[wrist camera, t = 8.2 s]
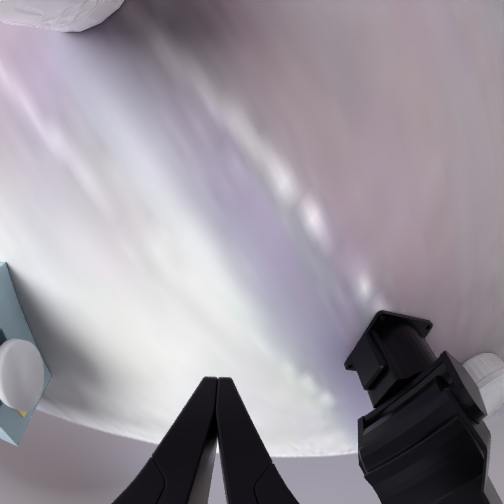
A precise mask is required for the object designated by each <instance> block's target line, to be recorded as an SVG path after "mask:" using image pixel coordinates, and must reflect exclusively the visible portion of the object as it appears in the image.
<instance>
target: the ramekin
mask: <svg viewBox="0 0 504 504" xmlns="http://www.w3.org/2000/svg"><path fill="white" fill-rule="evenodd" d="M461 365H462V366H463V367H464V368H465V369H466V370H467V372H468V373H469V374H470V376H471V377H472V379H473V380H474V382H475V383H476V385H477V386H478V388H479V391H480V394H481V396H482V399H483V402H484V405H485V408H486V411H487V414H488V415H487V417H485V418H484V419H483V421H484V420H485V419H486V418H488V417H489V416H490V415H491V414H493V413H494V412H495V411H496V410H497V409H498V408H499V407H500V406H501V405H502V404H503V403H504V361H502V360H501V359H500V358H499V357H498V356H497V355H495V354H493V353H481V354H478V355H476V356H474V357H472V358H470V359H468V360H467V361H465V362H464V363H463V364H461Z"/></svg>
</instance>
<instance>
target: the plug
mask: <svg viewBox="0 0 504 504" xmlns="http://www.w3.org/2000/svg"><path fill="white" fill-rule="evenodd" d="M43 384H44V368H43V362H42V358H41V356H40V353H39V351H38V350H37V348H36V347H35V346H34V345H33V344H32V343H31V342H29V341H25V340H21V339H16V338H12V339H9V340H7V341H5V342H4V343H3V344H2V345H1V346H0V399H1V401H2V402H3V403H4V404H5V405H7V406H9V407H11V408H14V409H16V410H19V411H23V412H25V411H29V410H31V409H32V408H33V407H34V406H35V405H36V404H37V403H38V401H39V399H40V397H41V394H42V390H43Z"/></svg>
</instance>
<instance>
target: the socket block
mask: <svg viewBox="0 0 504 504" xmlns="http://www.w3.org/2000/svg"><path fill="white" fill-rule="evenodd" d="M12 338H16V339H21V340H25V341H29V342H31V343H32V344H33V345H34V346H35V347H36V348H37V350H38V351H39V349H38V347H37V345H36V343H35V340H34V338H33V336H32V333H31V331H30V329H29V326H28V324H27V322H26V319H25V317H24V314H23V311H22V309H21V306H20V303H19V301H18V298H17V295H16V292H15V289H14V286H13V283H12V280H11V277H10V274H9V271H8V268H7V264H6V262H0V346H1V345H2V344H3V343H4V342H5V341H7V340H9V339H12ZM39 353H40V351H39ZM40 356H41V358H42V362H43V368H44V384H43V390H42V394H43V392H44V390H45V388H46V386H47V384H48V383H49V381H50V379H51V377H52V375H51V373H50V371H49V370H48V368H47V366H46V364H45V362H44V360H43V357H42V355H41V353H40ZM42 394H41V396H42ZM40 398H41V397H40ZM39 400H40V399H39ZM38 402H39V401H38ZM37 404H38V403H37ZM37 404H36V405H35V406H34V407H33V408H32V409H31V410H29V411H25V412H23V411H19V410H16V409H14V408H11V407H9V406H7V405H5V404H4V403H3V402H2V401H1V399H0V438H1V439H3V440H5V441H7V442H9V443H12V444H14V445H16V446H19V444H20V441H21V439H22V437H23V434H24V432H25V430H26V428H27V425H28V423H29V421H30V419H31V416H32V415H33V412H34V410H35V408H36V406H37Z"/></svg>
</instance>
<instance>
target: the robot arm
mask: <svg viewBox="0 0 504 504" xmlns="http://www.w3.org/2000/svg"><path fill="white" fill-rule="evenodd" d="M381 316H382V317H381ZM380 317H381V318H380ZM431 328H432V323H431V322H430V321H429V320H424V319H420V318H415V317H410V316H406V315H401V314H397V313H392V312H388V311H382V310H381V311H379V312H377V313H376V315H375V316H374V318H373V320H372V321H371V323H370V324H369V326H368V328H367V329H366V331H365V333H364V334H363V336H362V337H361V339H360V340H359V342H358V343H357V345H356V347H355V348H354V350H353V351H352V353H351V354H350V356H349V357H348V359H347V360H346V362H345V363H344V366H345V369H346V370H352V371H357V373H358V375H359V378H360V381H361V383H362V386H363V389H364V390H367V391H368V394H369V397H370V399H371V402H372V405H373V407H374V408H375V409H374V410H373V411H371V412H370V413H368V414H367V415H365V416H362V417H361V418H359V419H358V456H359V457H358V458H359V466H360V467H361V469H362V471H363V473H364V477H365V479H366V480H367V481H368V482H369V483H370V485H371V486H372V487H373V488H374V490H375V492H376V493H377V495H378V497H379V499H380V501H381V503H382V504H503V503H502V501H501V499H500V498H499V496H498V494H497V492H496V490H495V488H494V486H493V484H492V483H491V481H490V479H489V477H488V469H489V459H490V445H491V434H490V431H489V430H488V428H487V426H486V424H485V423H484V421H483V419H484V418H485V417H487V415H488V414H487V411H486V408H485V405H484V402H483V399H482V396H481V394H480V391H479V388H478V386H477V385H476V383H475V382H474V380H473V379H472V377H471V376H470V374H469V373H468V372H467V370H466V369H465V368H464V367H463V366H462V365H461V364H460V363H459V362H458V361H457V360H456V359H455V358H454V357H452V356H451V355H450V354H449V353H448V352H447V351H446V350H445V351H444V352H443V353H442V354H440V357H439V358H438V359H437V358H436V356H435V355H434V353H433V352H432V350H431V348H430V347H429V345H428V344H427V342H426V341H425V339H424V338H425V337H426V336H427V334H428V333H429V331H430V330H431ZM350 364H351V365H350ZM217 440H218V444H219V453H220V460H221V467H222V474H223V481H224V488H225V495H226V501H227V504H299V502H298V501H297V500H296V499H295V497H294V496H293V494H292V493H291V492H290V490H289V489H288V488H287V486H286V484H285V483H284V481H283V479H282V478H281V476H280V475H279V473H278V471H277V469H276V467H275V465H274V464H273V463H272V460H271V458H270V456H269V454H268V452H267V450H266V448H265V446H264V444H263V442H262V440H261V438H260V436H259V434H258V432H257V430H256V428H255V426H254V424H253V422H252V420H251V418H250V416H249V414H248V412H247V410H246V408H245V405H244V403H243V401H242V399H241V397H240V395H239V393H238V391H237V388H236V386H235V384H234V382H233V380H232V378H230V377H219V378H217V377H207V376H206V377H204V378H203V379H202V381H201V382H200V384H199V385H198V387H197V388H196V390H195V391H194V393H193V394H192V396H191V397H190V399H189V400H188V402H187V403H186V405H185V407H184V408H183V410H182V411H181V413H180V414H179V416H178V417H177V419H176V420H175V422H174V423H173V425H172V426H171V428H170V429H169V431H168V432H167V434H166V435H165V437H164V438H163V439H162V441H161V442H160V444H159V445H158V447H157V448H156V450H155V451H154V453H153V454H152V457H150V458H149V460H148V461H147V463H146V464H145V466H144V467H143V469H142V470H141V471H140V472H139V474H138V475H137V476H136V478H135V479H134V480H133V481H132V482H131V483H130V485H129V486H128V487H127V488H126V489H125V490H124V491H123V492H122V493H121V494H120V495H119V496H118V497H117V499H115V500H114V502H113V503H112V504H208V497H209V491H210V485H211V479H212V472H213V466H214V460H215V454H216V448H217Z"/></svg>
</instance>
